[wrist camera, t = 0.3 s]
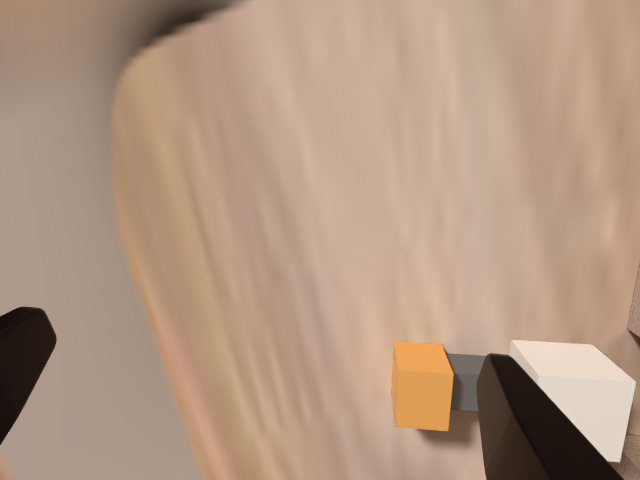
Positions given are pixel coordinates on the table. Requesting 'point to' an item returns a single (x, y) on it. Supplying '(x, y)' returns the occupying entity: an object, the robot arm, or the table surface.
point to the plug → (539, 363)
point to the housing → (636, 457)
